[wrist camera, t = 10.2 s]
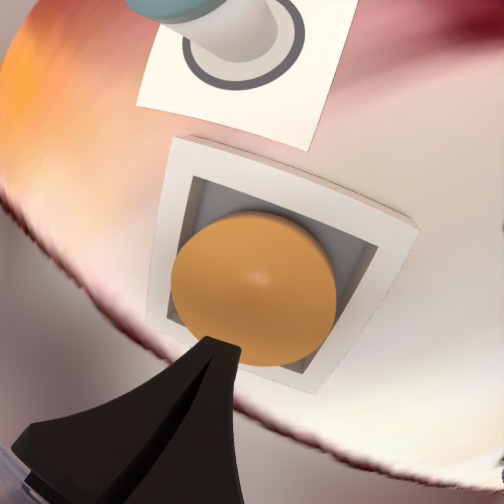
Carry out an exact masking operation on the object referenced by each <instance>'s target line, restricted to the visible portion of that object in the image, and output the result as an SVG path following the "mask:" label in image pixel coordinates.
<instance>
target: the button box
mask: <svg viewBox="0 0 504 504" xmlns="http://www.w3.org/2000/svg"><path fill="white" fill-rule="evenodd" d="M246 211H256V212H265V213H270V214H274V215H277V216H280V217H283V218H285V219H288V220H290V221H292V222H294V223H295V224H297V225H299V226H300V227H302V228H303V229H305V230H306V231H307V232H308V233H309V234H311V235H312V236H313V237H314V238H315V239H316V240H317V241H318V243H319V244H320V245H321V246H322V248H323V249H324V251H325V252H326V254H327V256H328V258H329V260H330V262H331V264H332V267H333V270H334V274H335V280H336V314H335V320H334V323H333V326H332V328H331V330H330V332H329V334H328V336H327V337H326V339H325V340H324V341H323V343H322V344H321V345H320V346H319V347H318V348H317V349H316V350H315V351H313V352H312V353H310V354H309V355H308V356H306V357H304V358H302V359H300V360H298V361H295V362H293V363H289V364H285V365H280V366H270V367H261V366H252V365H246V364H242V363H239V365H238V368H241V369H243V370H246V371H248V372H251V373H253V374H256V375H259V376H261V377H264V378H267V379H269V380H272V381H275V382H278V383H281V384H283V385H286V386H289V387H292V388H295V389H298V390H301V391H304V392H307V393H311V394H315V393H316V392H317V390H318V389H319V388H320V387H321V386H322V384H323V383H324V382H325V381H326V379H327V378H328V377H329V376H330V374H331V373H332V372H333V370H334V369H335V368H336V366H337V365H338V364H339V362H340V361H341V360H342V358H343V357H344V356H345V354H346V353H347V352H348V350H349V349H350V348H351V346H352V345H353V343H354V342H355V340H356V339H357V338H358V336H359V335H360V333H361V332H362V330H363V329H364V327H365V326H366V324H367V323H368V321H369V320H370V318H371V317H372V315H373V314H374V312H375V311H376V309H377V307H378V306H379V304H380V303H381V301H382V299H383V298H384V296H385V295H386V293H387V291H388V290H389V288H390V286H391V284H392V283H393V281H394V279H395V278H396V276H397V274H398V272H399V271H400V269H401V267H402V265H403V263H404V262H405V260H406V258H407V256H408V254H409V252H410V250H411V248H412V246H413V245H414V243H415V241H416V239H417V237H418V235H419V233H420V231H421V230H420V229H419V228H418V227H417V226H416V225H415V223H414V222H413V221H412V220H411V219H410V218H409V217H407V216H405V215H403V214H401V213H399V212H397V211H395V210H393V209H391V208H389V207H386V206H384V205H382V204H380V203H378V202H376V201H373V200H371V199H369V198H367V197H365V196H362V195H360V194H358V193H355V192H353V191H351V190H348V189H346V188H344V187H341V186H339V185H337V184H334V183H332V182H329V181H327V180H324V179H322V178H319V177H317V176H314V175H311V174H309V173H306V172H304V171H301V170H298V169H296V168H293V167H290V166H287V165H285V164H282V163H279V162H276V161H273V160H270V159H267V158H265V157H262V156H259V155H256V154H253V153H249V152H246V151H243V150H240V149H237V148H234V147H230V146H227V145H224V144H220V143H217V142H213V141H210V140H206V139H203V138H199V137H196V136H177V137H173V139H172V143H171V147H170V152H169V156H168V161H167V166H166V171H165V175H164V180H163V186H162V191H161V196H160V202H159V208H158V214H157V220H156V226H155V233H154V240H153V248H152V255H151V263H150V272H149V282H148V292H147V303H146V317H145V324H146V325H148V326H150V327H152V328H153V329H155V330H157V331H159V332H161V333H163V334H165V335H167V336H169V337H171V338H173V339H175V340H177V341H179V342H182V343H184V344H186V345H188V346H190V347H193V346H194V345H195V344H197V343H198V342H199V340H198V339H197V338H196V337H195V336H194V335H193V334H192V333H191V332H190V331H189V330H188V328H187V327H186V326H185V324H184V323H183V321H182V320H181V318H180V316H179V314H178V312H177V310H176V308H175V305H174V302H173V298H172V293H171V272H172V268H173V264H174V262H175V259H176V257H177V255H178V253H179V252H180V250H181V248H182V247H183V246H184V245H185V244H186V243H187V241H188V240H190V239H191V238H192V237H193V236H195V235H196V234H197V233H198V232H200V231H201V230H202V229H203V228H204V227H206V226H207V225H208V224H210V223H211V222H213V221H215V220H216V219H218V218H220V217H223V216H225V215H228V214H232V213H237V212H246Z"/></svg>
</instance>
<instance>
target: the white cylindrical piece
mask: <svg viewBox="0 0 504 504" xmlns="http://www.w3.org/2000/svg"><path fill="white" fill-rule="evenodd" d="M125 2H126V4H127V5H128V7H129V8H130V9H131V10H133V11H134V12H136V13H139V14H141V15H143V16H145V17H147V18H149V19H151V20H153V21H155V22H157V23H159V24H161V25H163V26H165V27H167V28H169V29H171V30H173V31H175V32H177V33H179V34H180V35H182V36H184V37H186V38H188V39H189V40H191V41H193V42H194V43H196V44H198V45H200V46H201V47H203V48H205V49H206V50H208V51H210V52H211V53H213V54H214V55H216V56H218V57H219V58H221V59H223V60H225V61H228V62H234V63H243V62H249V61H252V60H255V59H257V58H259V57H261V56H263V55H264V54H265V53H267V52H268V51H269V50H270V49H271V47H272V46H273V45H274V43H275V41H276V38H277V35H278V26H277V22H276V20H275V18H274V16H273V14H272V12H271V10H270V8H269V6H268V4H267V2H266V1H265V0H125Z"/></svg>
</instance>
